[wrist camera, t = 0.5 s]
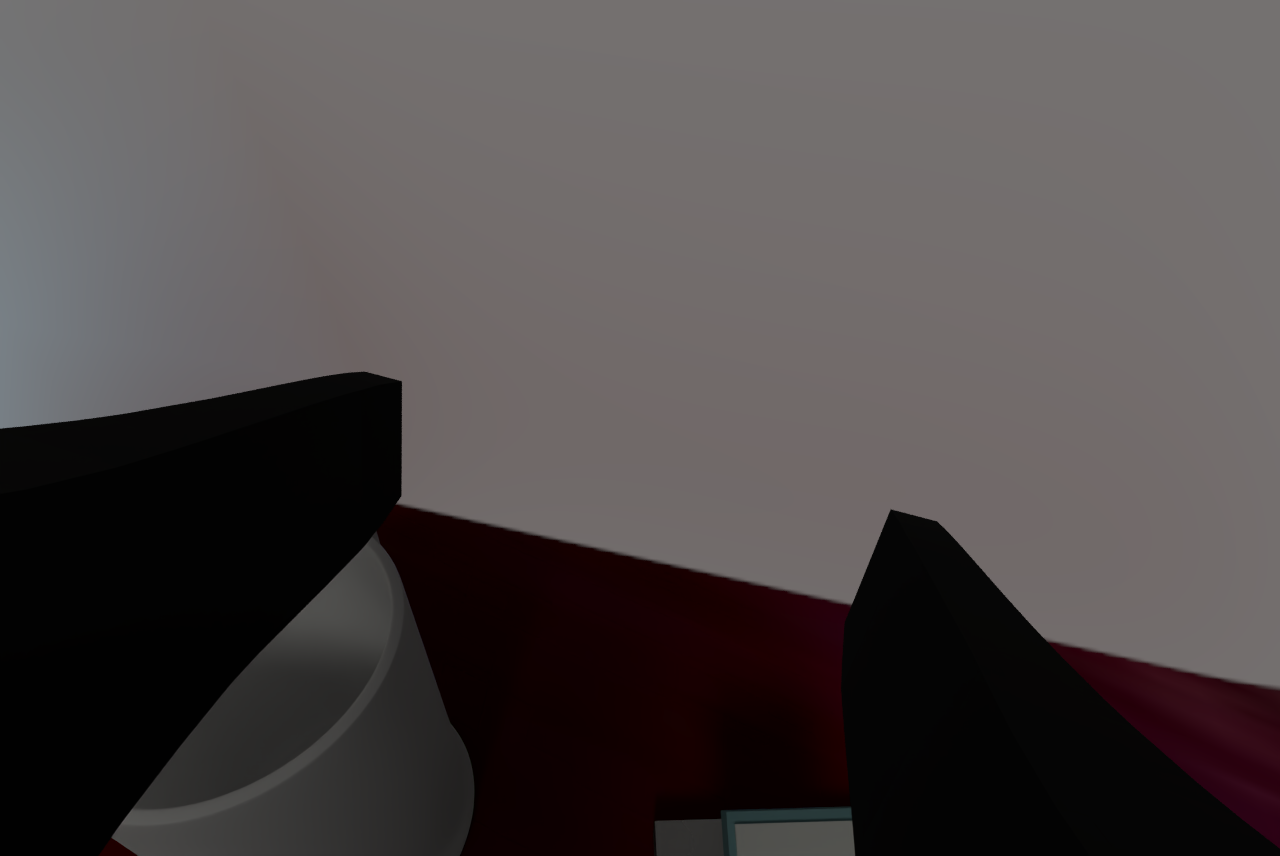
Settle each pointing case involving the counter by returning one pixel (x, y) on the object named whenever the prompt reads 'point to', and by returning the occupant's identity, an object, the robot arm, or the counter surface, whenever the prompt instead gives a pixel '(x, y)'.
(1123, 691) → the counter surface
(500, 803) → the counter surface
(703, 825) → the panel
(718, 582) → the counter surface
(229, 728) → the mug
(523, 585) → the counter surface
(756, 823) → the teal tile with stripe
